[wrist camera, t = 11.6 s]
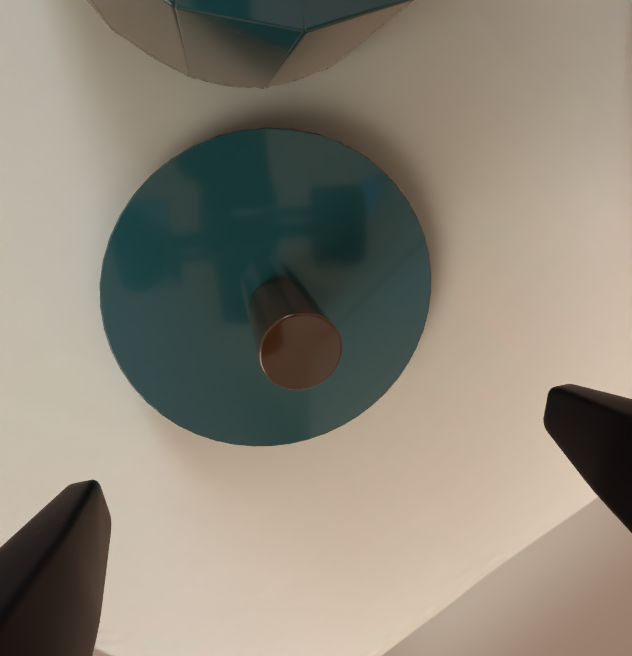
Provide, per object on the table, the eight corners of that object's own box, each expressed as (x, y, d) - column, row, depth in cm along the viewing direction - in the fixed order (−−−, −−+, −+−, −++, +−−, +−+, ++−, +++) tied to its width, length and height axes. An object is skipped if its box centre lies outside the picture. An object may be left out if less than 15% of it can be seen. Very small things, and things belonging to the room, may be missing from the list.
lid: (292, 44, 14) (335, -17, 9) (466, 304, 19) (549, 350, 15) (26, 296, 15) (-60, 358, 10) (265, 475, 20) (282, 570, 15)
